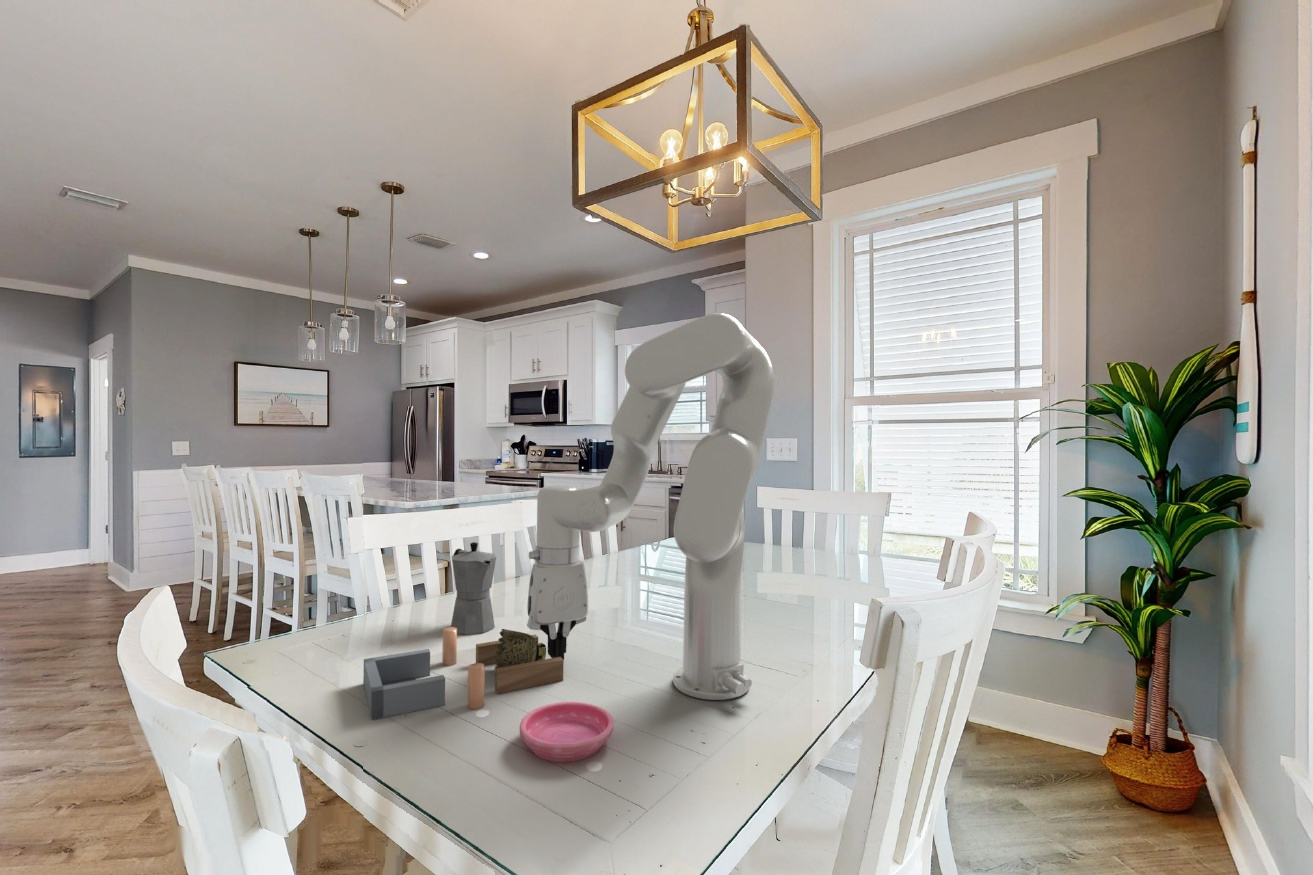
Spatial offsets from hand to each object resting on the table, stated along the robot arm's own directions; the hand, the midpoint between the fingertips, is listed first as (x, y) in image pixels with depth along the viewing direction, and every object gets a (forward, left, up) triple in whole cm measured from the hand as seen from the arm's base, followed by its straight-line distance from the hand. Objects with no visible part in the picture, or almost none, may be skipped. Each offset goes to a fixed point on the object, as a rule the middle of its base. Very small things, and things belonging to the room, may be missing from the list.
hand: (556, 657), depth 107 cm
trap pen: (0, +26, -1) cm, 26 cm away
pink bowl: (-26, +9, -2) cm, 27 cm away
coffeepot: (+28, +9, -1) cm, 29 cm away
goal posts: (0, +17, -1) cm, 17 cm away
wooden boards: (0, +7, -1) cm, 7 cm away
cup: (-1, +2, +1) cm, 3 cm away
